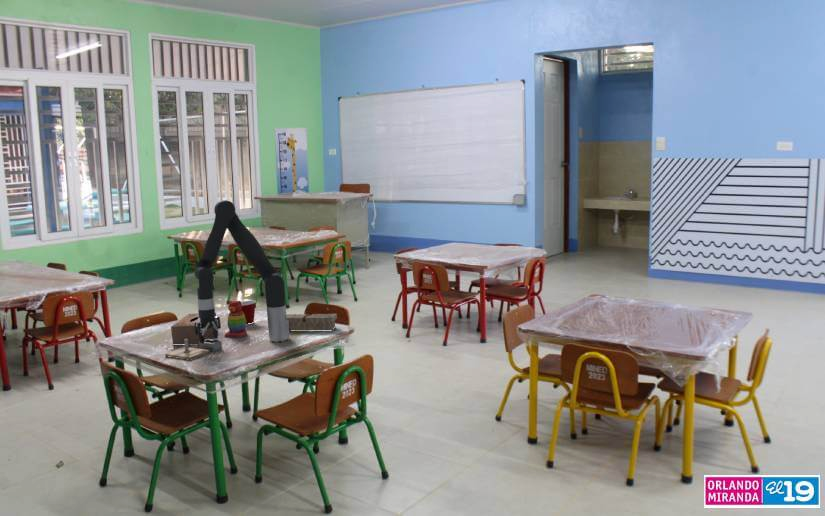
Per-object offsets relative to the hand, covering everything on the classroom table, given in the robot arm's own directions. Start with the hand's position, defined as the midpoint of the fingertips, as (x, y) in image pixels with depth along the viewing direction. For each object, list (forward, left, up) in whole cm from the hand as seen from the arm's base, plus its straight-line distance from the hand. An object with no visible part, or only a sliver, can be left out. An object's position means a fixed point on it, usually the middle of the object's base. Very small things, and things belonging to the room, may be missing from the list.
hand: (209, 340), depth 345 cm
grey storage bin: (-1, 0, -4) cm, 4 cm away
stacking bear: (+5, -25, -5) cm, 26 cm away
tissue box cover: (+22, -13, -5) cm, 26 cm away
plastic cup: (+16, -45, -5) cm, 48 cm away
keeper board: (+3, +11, -4) cm, 12 cm away
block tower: (-24, -46, -5) cm, 52 cm away
